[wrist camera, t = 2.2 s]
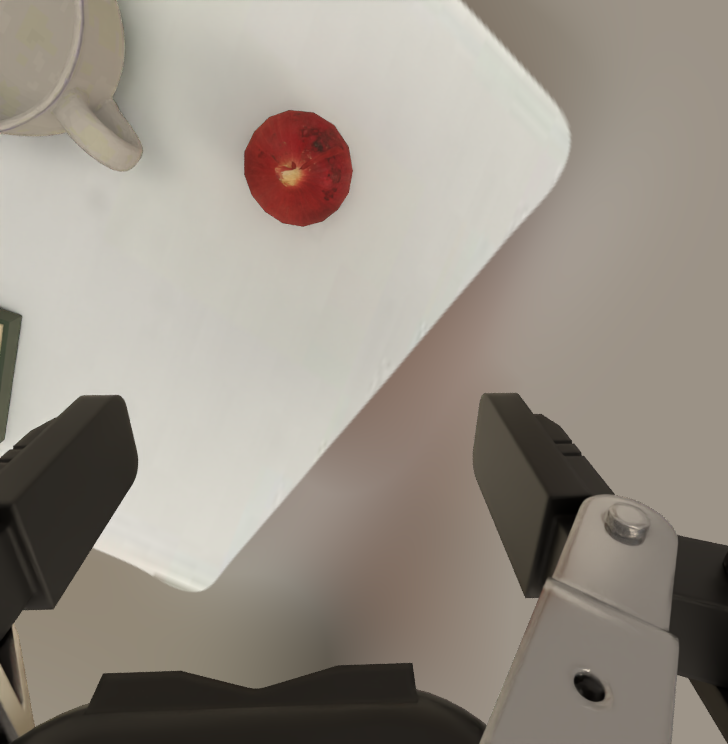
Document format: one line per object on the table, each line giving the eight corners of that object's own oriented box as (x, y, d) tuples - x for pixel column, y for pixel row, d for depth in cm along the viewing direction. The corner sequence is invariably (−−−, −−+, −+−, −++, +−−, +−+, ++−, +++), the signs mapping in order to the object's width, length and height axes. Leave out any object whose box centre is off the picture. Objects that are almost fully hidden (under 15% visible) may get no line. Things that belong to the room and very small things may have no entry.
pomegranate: (311, 93, 27) (299, 71, 20) (369, 178, 29) (378, 187, 22) (237, 157, 29) (201, 159, 21) (298, 235, 31) (284, 261, 23)
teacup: (-109, -22, 24) (-300, -96, 17) (49, -157, 22) (-90, -304, 15) (83, 221, 30) (0, 243, 22) (223, 129, 28) (182, 121, 21)
